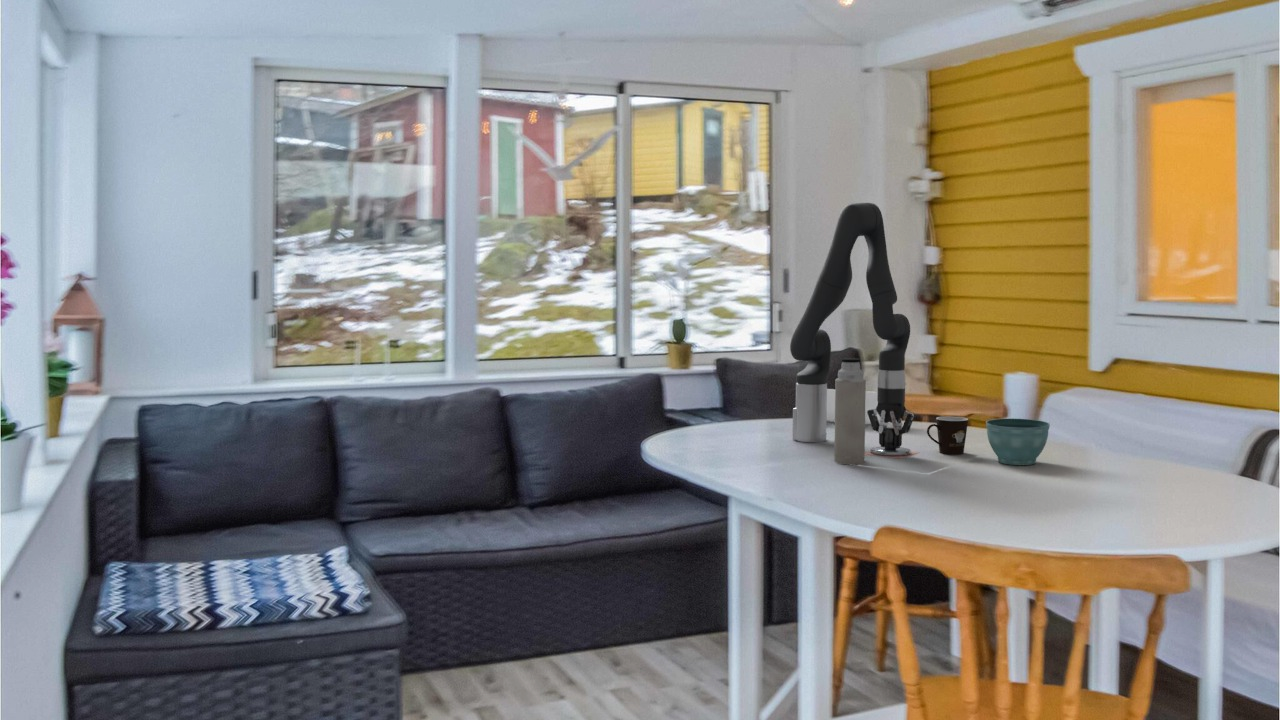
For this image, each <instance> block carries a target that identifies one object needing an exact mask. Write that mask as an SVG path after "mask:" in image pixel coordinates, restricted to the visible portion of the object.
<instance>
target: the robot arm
mask: <svg viewBox="0 0 1280 720" xmlns="http://www.w3.org/2000/svg"><path fill="white" fill-rule="evenodd" d="M882 214H883V213H882V211H881V209H880V208H879V206H878V205H877V204H875V203H873V202H852V203H848V204H846V205H845V206H844V207H843V208H842V209H841V211H840V213H839V215H838V217H837V223H836V226H835V230H834V234H833V237H832V240H831V243H830V248H829V249H828V252H827V255H826V258H825V261H824V264H823V266H822V268H821V271H820V273H819V276H818V277H817V281H816V282H815V286H814V288H813V291H812V294H811V296H810V298H809V302H808V303H807V306H806V308H805V310H804V313H803V315H802V317H801V318H800V320H799V322H798V324H797V326H796V328H795V329H794V331H793V334H792V336H791V338H790V339H791V340H790V347H789V348H790V349H789V350H790V355H791V357H792V358H793V359H794V360H796V361H798V362H799V361H800V362H806V361H807V365H806V366H805V367H804V369H802V370H801V371H799V372H798V373H796V376H795V407H793V409H792V440H795V441H798V442H803V443H822V442H826V441H827V425H828V424H827V422H828V421H827V389H828V377H829V374H830V371H831V370H830V369H831V367H830V366H831V356H832V354H831V353H832V346H831V345H832V343H831V339H830V335H829V334H828V332H827V331H825V330H824V329H820V328H821V326H822V325H823V323H824V322H825V321H826V319H828V317H829V316H831V315H832V314H833V313H834V311H836V310H837V309H838V308H839V307H840V305H841V304H843V301H844V300H845V298H846V296H847V295H848V291H849V289H850V286H851V283H852V280H853V270H852V263H851V255H852V250H853V248H854V245H855V243H856V241H857V239H858V238H859V237H864V240H865V242H866V245H867V251H868V257H867V258H868V260H867V266H866V271H865V273H866V274H865V278H866V285H867V289H868V292H869V296H870V301H871V304H872V309H871V310H872V325H873V329H874V332H875V333H876V335H877V336H878V338H880V339H881V340H884V341H886V343H885V344H886V345H885V347H883V348H882V349H880V350H879V354H878V374H877V391H876V392H877V401H878V405H877V407H876V409H872V410H868V411H867V413H868V416H869V419H870V422H871V424H870V425H871V427H872V428H871V429H872V430H873V431H876V432H877V433H878V443H879V445H880V446H881V447H885V428H887V426H888V424H889V422H891V423H892V424H893V428H894V430H895V434H896V435H894V448H896V449H897V448H900V447H902V445H903V442H902V441H903V438H902V437H903V435H904V434H907V433H908V434H909V432H910V431H911V430H910V429H911V427H912V424H913V421H914V419H915V416H916V414H915V413H914V412H909V411H907V408H906V406H905V403H906V385H907V383H906V374H905V373H906V372H905V366H906V365H905V364H906V363H905V362H906V359H905V358H906V353H907V352H906V351H907V349H908V344H909V340H910V337H911V336H910V335H911V323H910V321H909V319H908V317H907V316H906V315H904V314H903V313H894V307H893V305H894V304H896V303H897V302H898V295H897V291H896V288H895V287H896V286H895V284H894V280H893V277H892V274H891V270H890V264H889V263H890V262H889V259H888V257H889V256H888V248H887V241H886V234H885V233H886V232H885V226H884V224H885V223H884V218H883V215H882ZM877 412H878V414H879V416H880V417H881V418H880V423H879V421H878V418H877V415H878V414H877ZM903 417H904V423H903V421H902V419H903Z"/></svg>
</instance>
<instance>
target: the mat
mask: <svg viewBox="0 0 1280 720" xmlns="http://www.w3.org/2000/svg"><path fill="white" fill-rule="evenodd" d="M919 453H920V452H919V451H912V450H911V454H910V455H907V456H897V457H891V456H881V457H883V458H891V459H899V460H900V459H904V458H907V457H911V456H913V455H917V454H919ZM865 456H873V457H874V456H875V457H880V456H879V455H874V454H871V453H870V450H869V451H865Z"/></svg>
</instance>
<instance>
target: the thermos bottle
mask: <svg viewBox="0 0 1280 720" xmlns="http://www.w3.org/2000/svg"><path fill="white" fill-rule="evenodd" d="M860 362H861V359H860V358H858V357H857V358H855V357H845V358H841V365H840V366H841V368H840V369H839V370H837V371H838V372H837V378H836V379H835V380H834V381H835V383H834V384H835V387H834V388H835V422H834V452H833V454H834V457H833V460H834V463H836V464H839V465H848V464H852V465H853V464H861V463H864V462H865V456H866V455H865V452H866V451H865V448H866V447H865V445H866V443H865V442H866V424H865V391H867V390H866V387H867V386H866V381H867V380H866V379H865V378H864V371H863V370H862V369H861V365H860Z"/></svg>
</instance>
